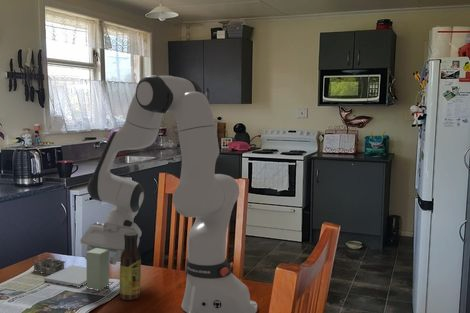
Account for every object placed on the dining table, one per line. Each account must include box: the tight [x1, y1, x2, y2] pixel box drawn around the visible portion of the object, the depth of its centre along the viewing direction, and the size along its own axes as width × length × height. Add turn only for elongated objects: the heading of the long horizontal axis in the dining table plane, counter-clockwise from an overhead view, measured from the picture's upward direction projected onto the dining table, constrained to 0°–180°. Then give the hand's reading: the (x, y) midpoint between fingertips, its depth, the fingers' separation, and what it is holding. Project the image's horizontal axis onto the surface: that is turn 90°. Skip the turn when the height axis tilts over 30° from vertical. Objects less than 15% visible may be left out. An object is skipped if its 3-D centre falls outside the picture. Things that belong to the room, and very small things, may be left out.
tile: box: [43, 264, 87, 288], centre depth 157 cm, size 14×14×1 cm
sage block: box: [85, 248, 110, 291], centre depth 149 cm, size 5×5×12 cm
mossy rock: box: [32, 257, 66, 275], centre depth 164 cm, size 11×8×4 cm
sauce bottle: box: [119, 233, 142, 301], centre depth 141 cm, size 6×6×20 cm
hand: (99, 261), depth 150 cm, fingers open, 8 cm apart
